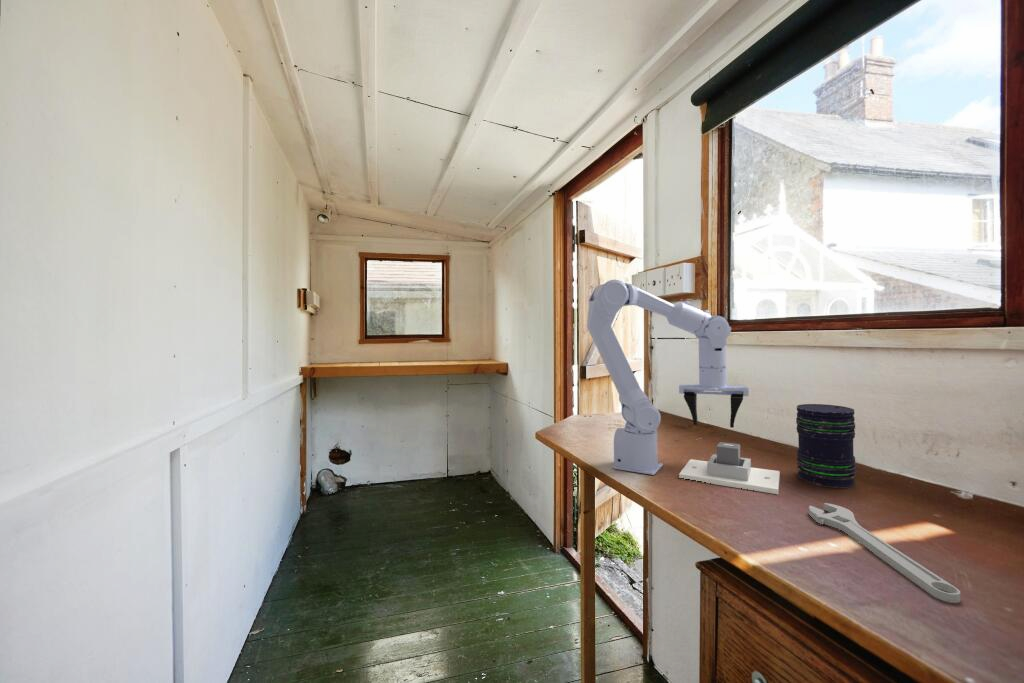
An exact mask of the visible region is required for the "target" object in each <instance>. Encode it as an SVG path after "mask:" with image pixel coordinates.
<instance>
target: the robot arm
mask: <svg viewBox="0 0 1024 683" xmlns="http://www.w3.org/2000/svg"><path fill="white" fill-rule="evenodd" d="M627 306H636V307H638V308H641V309H645V310H647V311H649V312H653V313H655V314H658V315H661V316H664V317H665V318H666V320H667V323H668V324H669V325H670V326H673V327H675V328H677V329H680V330H683V331H685V332H688V333H690V334H692V335H694V336H695V337H696V338H697V339H698V371H699V372H698V375H699V376H698V382H699V384H679V386H678V394H681V395H683V398H684V402H686V405H687V406H688V408H689V412H690V415H691V417H692V422H693V426H694V425H695V426H698V412H697V411H698V410H697V404H698V403H697V397H698V396H697V395H718V396H719V395H720V396H723V395H724V396H730V419H729V428H733V429H734V427H735V420H736V417H737V413H738V410H739V408H740V406H741V404H742V403H743V399H744V397H749V386H740V385H739V386H738V385H727V348H726V347H727V339H728V337H730V334H731V331H732V326H730V324H729V322H728V320H727V319H726V318H725V317H723V316H722V315H721V316H720V315H711V314H710V313H711V311H710V310H707V309H704V310H702V309H699V308H697V307H695V306H692V302H690V301H678V302H676V303H671V302H669V301H667V300H665V299H662V298H661V297H658V296H656V295H654V294H652V293H650V292H648V291H646V290H644V289H641V288H639V287H637V286H635V285H634V284H631V283H627V282H623V281H622V280H619V279H609V280H607V281H606V282H605V283H602V284H599V285H597V286H596V287H595V288H594V289H593V291H592V293H591V295H590V297H589V299H588V312H587V320H586V321H587V322H586V327H587V330H588V332H589V334H590V336H591V338H592V340H593V342H594V345H595V348H596V349H597V352H598V353H599V355H600V358H601V359H602V361H603V364H604V366H605V367H606V370H607V372H608V374H609V376H610V378H611V380H612V384H614V387H615V389H616V391H617V393H618V401H619V403H620V405H621V415H622V418H623V420H625V425H624V427H618V428H616V430H615V432H614V435H613V466H612V468H613V469H615V470H621V471H627V472H632V473H640V474H645V475H650V476H651V475H652V476H654V475H655V474H657V472H659V471H660V469H662V467H663V465H664V463H662V462H658V427H659V426H660V424H661V419H662V418H661V417H662V416H661V413H660V410H659V409H658V408H657V407H656V406H654V405H653V403H651V401H650V399H649V397H648V396H647V395H646V393H645V392H644V391H643V390H642V388H641V386H640V385H639V382H638V380H637V378H636V377H635V374H634V372H633V370H632V368H631V365H630V363H629V362H628V360H627V359H628V358H627V357H626V355H625V353H624V351H623V349H622V346H621V345H620V342H619V340H618V338H617V336H616V334H615V332H614V330H613V328H612V324H613V323H614V320H615V317H616V316H617V314H618V312H619V311H620V310H621V309H622V308H623V307H627Z"/></svg>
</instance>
